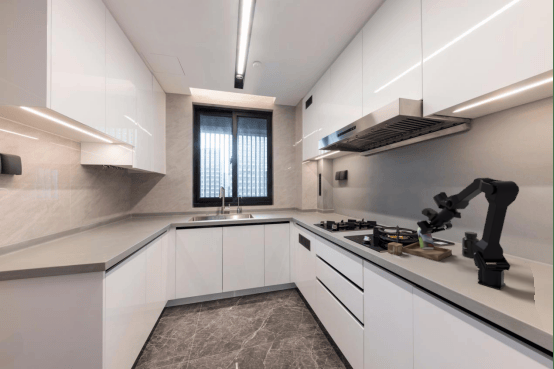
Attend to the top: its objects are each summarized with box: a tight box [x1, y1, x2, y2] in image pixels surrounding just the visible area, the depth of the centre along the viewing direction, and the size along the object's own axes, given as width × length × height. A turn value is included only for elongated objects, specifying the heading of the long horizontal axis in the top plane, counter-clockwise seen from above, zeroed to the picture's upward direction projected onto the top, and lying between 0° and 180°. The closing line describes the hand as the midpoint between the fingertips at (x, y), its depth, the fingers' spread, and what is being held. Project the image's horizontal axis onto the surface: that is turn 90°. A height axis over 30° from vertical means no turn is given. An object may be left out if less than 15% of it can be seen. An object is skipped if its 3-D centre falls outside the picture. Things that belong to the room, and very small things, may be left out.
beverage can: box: [416, 226, 435, 251], centre depth 123 cm, size 6×7×12 cm
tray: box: [402, 242, 453, 262], centre depth 124 cm, size 17×15×2 cm
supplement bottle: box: [461, 231, 480, 259], centre depth 118 cm, size 7×7×12 cm
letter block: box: [387, 241, 403, 256], centre depth 126 cm, size 5×5×5 cm
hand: (424, 234), depth 125 cm, fingers closed on beverage can, 6 cm apart
